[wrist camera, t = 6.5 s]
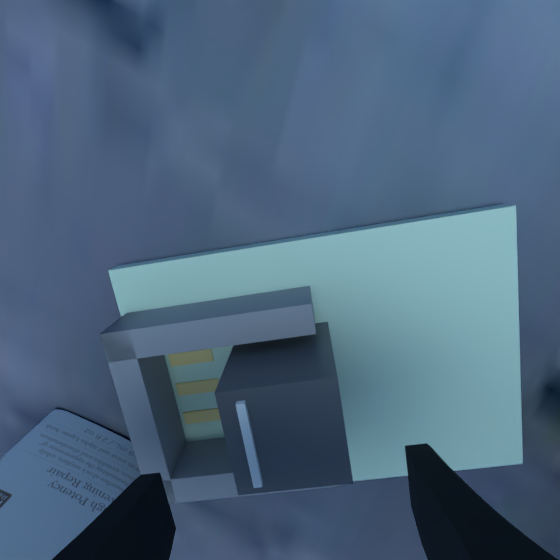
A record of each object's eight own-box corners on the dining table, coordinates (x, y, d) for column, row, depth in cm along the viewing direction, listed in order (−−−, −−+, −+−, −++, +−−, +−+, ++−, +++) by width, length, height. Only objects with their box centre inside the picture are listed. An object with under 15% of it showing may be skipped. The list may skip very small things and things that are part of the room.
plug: (339, 402, 19) (354, 487, 14) (254, 413, 19) (237, 499, 14) (327, 321, 18) (338, 380, 13) (237, 334, 18) (213, 396, 13)
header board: (511, 449, 20) (555, 506, 16) (177, 485, 21) (154, 543, 18) (503, 203, 17) (554, 211, 14) (118, 265, 18) (77, 285, 15)
